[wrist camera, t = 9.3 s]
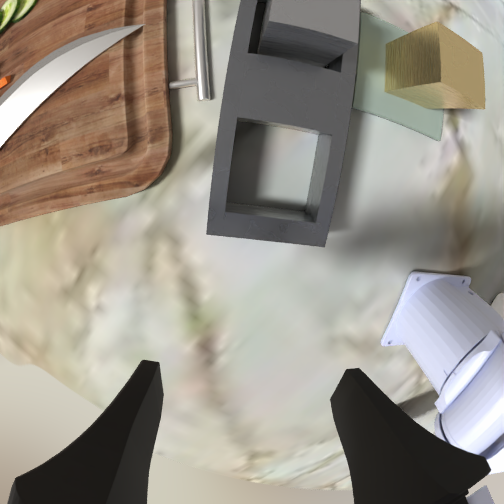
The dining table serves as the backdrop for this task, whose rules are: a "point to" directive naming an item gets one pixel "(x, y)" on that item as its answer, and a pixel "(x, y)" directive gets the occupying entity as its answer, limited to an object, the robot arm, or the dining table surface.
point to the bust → (499, 304)
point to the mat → (373, 81)
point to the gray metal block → (309, 29)
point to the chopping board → (86, 100)
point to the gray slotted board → (286, 116)
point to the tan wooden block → (435, 69)
